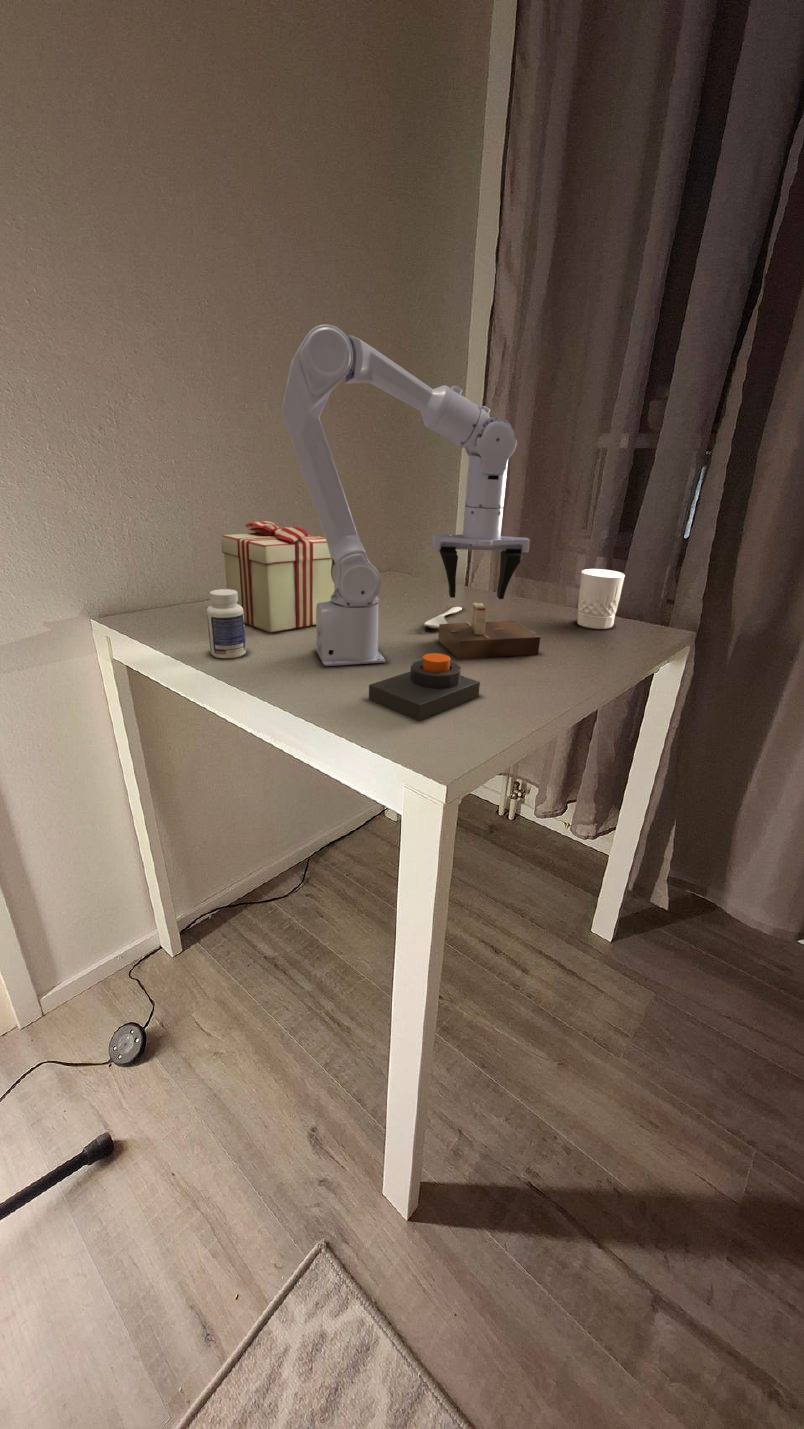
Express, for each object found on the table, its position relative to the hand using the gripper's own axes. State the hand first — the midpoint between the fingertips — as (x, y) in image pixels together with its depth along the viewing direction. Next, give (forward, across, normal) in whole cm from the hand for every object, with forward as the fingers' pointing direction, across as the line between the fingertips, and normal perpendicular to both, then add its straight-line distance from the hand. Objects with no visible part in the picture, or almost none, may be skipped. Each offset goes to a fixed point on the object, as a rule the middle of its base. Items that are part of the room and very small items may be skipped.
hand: (476, 597), depth 97 cm
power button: (+6, -8, -19) cm, 21 cm away
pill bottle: (+10, -39, -3) cm, 40 cm away
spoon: (+9, -2, +20) cm, 22 cm away
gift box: (+10, -33, +19) cm, 39 cm away
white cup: (+9, +27, +19) cm, 34 cm away
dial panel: (+9, +3, +3) cm, 10 cm away
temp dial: (+6, +1, +2) cm, 7 cm away
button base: (+9, -9, -20) cm, 24 cm away
